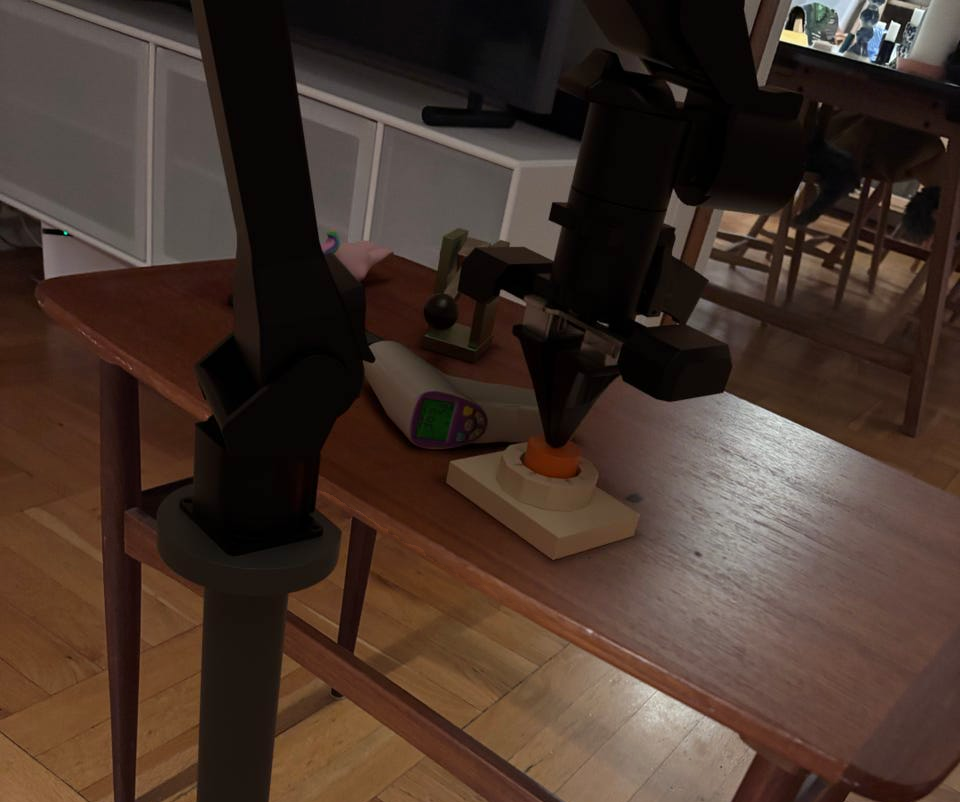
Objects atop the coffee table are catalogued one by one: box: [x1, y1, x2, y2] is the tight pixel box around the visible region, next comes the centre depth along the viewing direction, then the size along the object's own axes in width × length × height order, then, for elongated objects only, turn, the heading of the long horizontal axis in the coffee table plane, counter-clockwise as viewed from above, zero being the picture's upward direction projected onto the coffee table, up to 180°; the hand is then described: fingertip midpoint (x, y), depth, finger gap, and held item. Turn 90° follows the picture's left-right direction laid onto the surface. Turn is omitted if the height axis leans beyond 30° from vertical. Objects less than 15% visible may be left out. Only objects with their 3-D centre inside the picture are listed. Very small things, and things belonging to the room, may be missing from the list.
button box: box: [445, 442, 641, 561], centre depth 67 cm, size 8×11×4 cm
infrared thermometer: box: [363, 340, 577, 450], centre depth 77 cm, size 5×12×15 cm
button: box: [523, 434, 582, 479], centre depth 65 cm, size 4×4×2 cm
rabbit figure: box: [321, 230, 395, 283], centre depth 98 cm, size 6×6×15 cm
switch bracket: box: [422, 227, 511, 364], centre depth 89 cm, size 6×6×10 cm
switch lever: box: [422, 236, 492, 330], centre depth 85 cm, size 11×3×3 cm, turn 163°
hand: (555, 445), depth 65 cm, fingers closed
